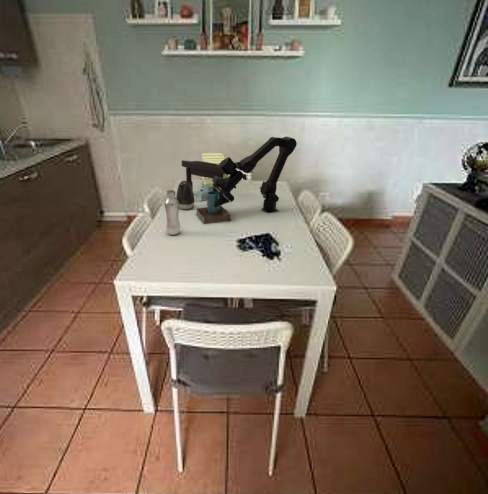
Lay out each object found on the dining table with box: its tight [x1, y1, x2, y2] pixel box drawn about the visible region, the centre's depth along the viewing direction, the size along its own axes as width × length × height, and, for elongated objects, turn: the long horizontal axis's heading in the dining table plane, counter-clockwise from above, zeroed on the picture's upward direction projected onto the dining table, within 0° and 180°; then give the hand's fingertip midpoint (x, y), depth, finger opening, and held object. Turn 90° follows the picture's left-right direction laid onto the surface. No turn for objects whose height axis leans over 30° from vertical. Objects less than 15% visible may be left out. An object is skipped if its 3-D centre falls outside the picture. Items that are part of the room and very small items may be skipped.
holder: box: [195, 205, 232, 225], centre depth 168 cm, size 14×14×3 cm
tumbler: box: [206, 191, 219, 214], centre depth 166 cm, size 6×6×13 cm
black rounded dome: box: [175, 180, 196, 210], centre depth 177 cm, size 10×10×15 cm
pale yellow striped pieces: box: [201, 152, 229, 187], centre depth 217 cm, size 30×16×18 cm, turn 7°
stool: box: [181, 160, 226, 203], centre depth 191 cm, size 16×21×33 cm
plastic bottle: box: [163, 189, 182, 236], centre depth 146 cm, size 6×7×20 cm
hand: (211, 203), depth 165 cm, fingers open, 9 cm apart
